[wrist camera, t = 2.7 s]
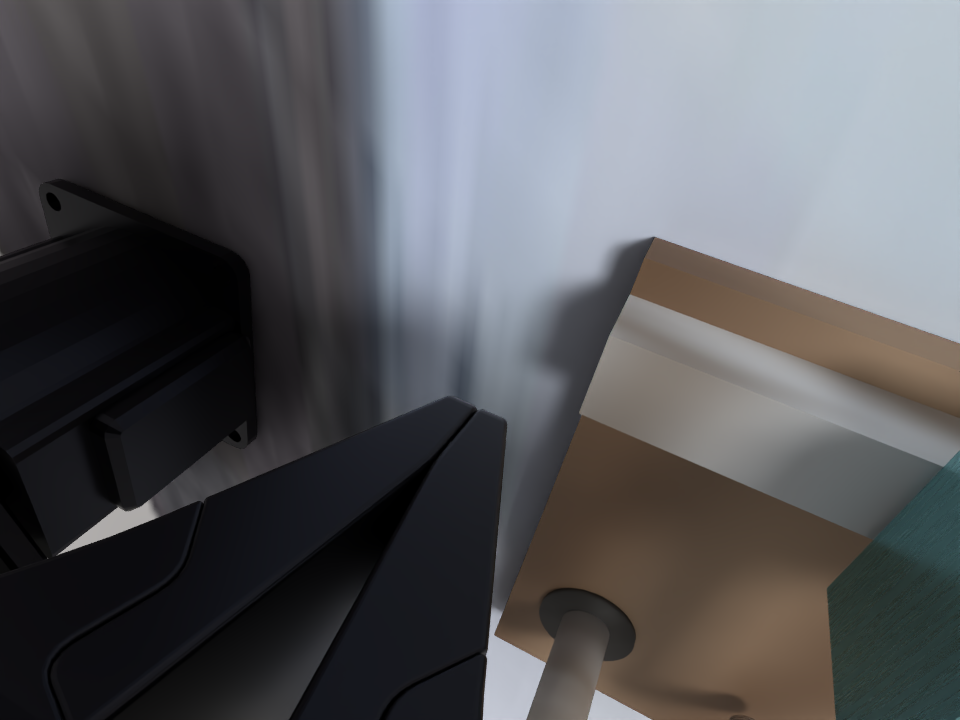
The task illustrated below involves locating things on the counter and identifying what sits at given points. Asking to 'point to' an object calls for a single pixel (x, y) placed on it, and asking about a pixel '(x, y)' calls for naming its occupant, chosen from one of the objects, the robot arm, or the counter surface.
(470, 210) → the counter surface
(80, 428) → the robot arm
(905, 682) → the leg
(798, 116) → the counter surface
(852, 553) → the plate
